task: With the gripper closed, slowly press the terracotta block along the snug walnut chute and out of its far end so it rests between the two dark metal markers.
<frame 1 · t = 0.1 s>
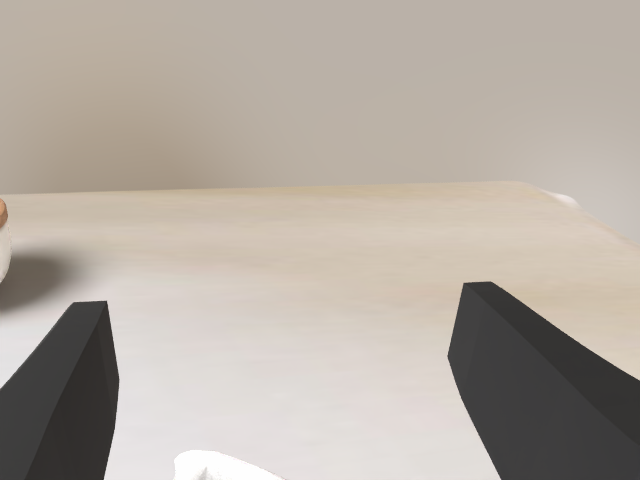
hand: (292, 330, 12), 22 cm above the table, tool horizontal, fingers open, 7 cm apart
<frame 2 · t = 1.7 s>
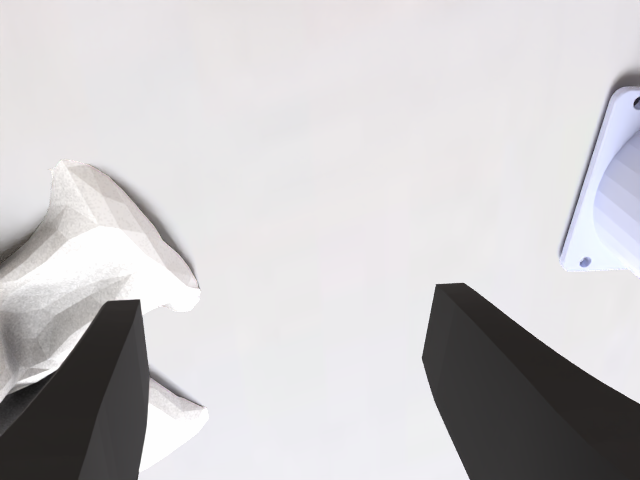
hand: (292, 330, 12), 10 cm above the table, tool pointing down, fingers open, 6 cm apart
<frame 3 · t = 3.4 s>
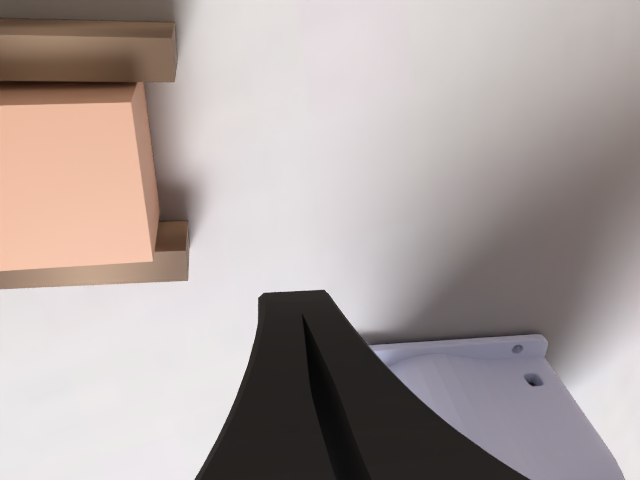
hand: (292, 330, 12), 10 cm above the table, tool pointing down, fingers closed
terracotta block: (24, 145, 19), on the table
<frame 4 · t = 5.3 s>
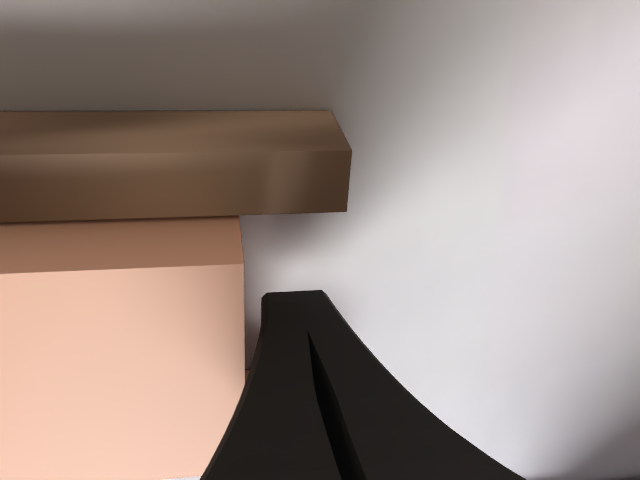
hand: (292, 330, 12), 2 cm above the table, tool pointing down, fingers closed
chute: (47, 289, 13), on the table
terracotta block: (49, 277, 13), on the table, touching gripper
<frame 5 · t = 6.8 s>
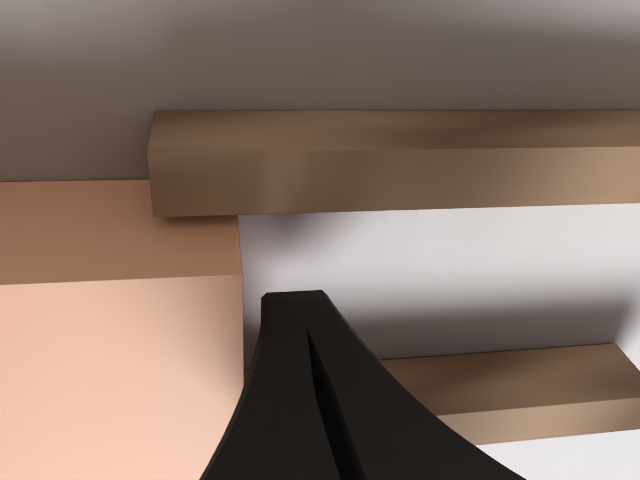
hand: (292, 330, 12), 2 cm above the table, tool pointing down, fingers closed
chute: (426, 270, 15), on the table
terracotta block: (48, 285, 13), on the table, touching gripper
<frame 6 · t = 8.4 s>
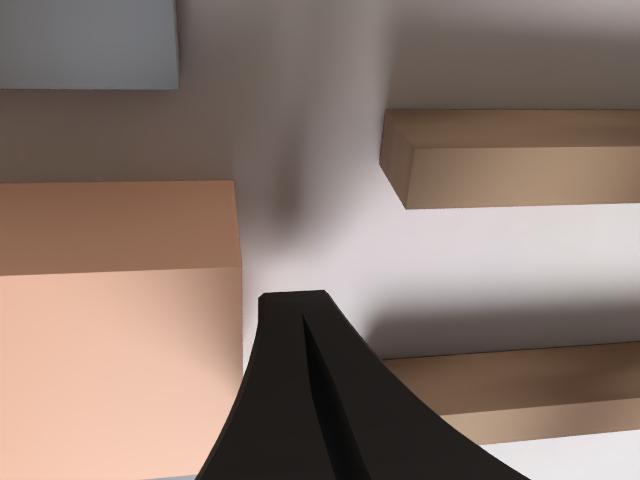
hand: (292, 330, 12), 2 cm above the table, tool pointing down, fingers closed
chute: (597, 262, 15), on the table
terracotta block: (51, 279, 13), on the table
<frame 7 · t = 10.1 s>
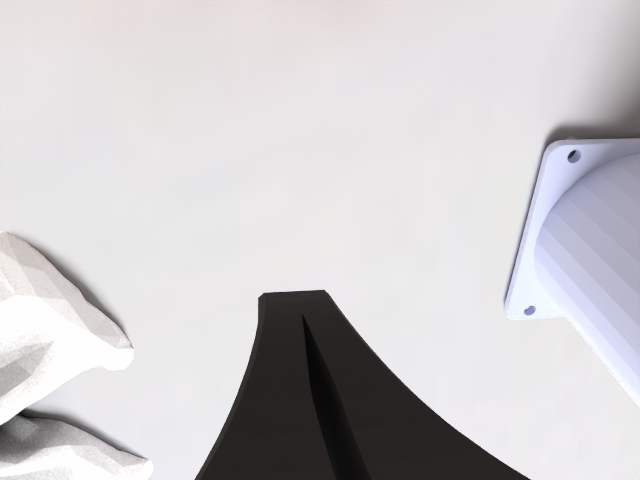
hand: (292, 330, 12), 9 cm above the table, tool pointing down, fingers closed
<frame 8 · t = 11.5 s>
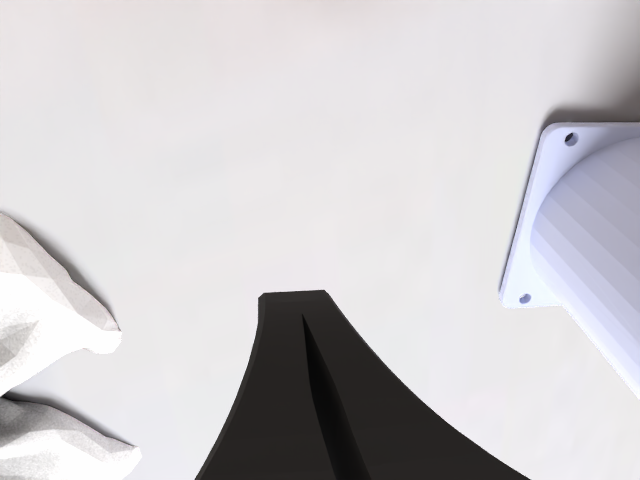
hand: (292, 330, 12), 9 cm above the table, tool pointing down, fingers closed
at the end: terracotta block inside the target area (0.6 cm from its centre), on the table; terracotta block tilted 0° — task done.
